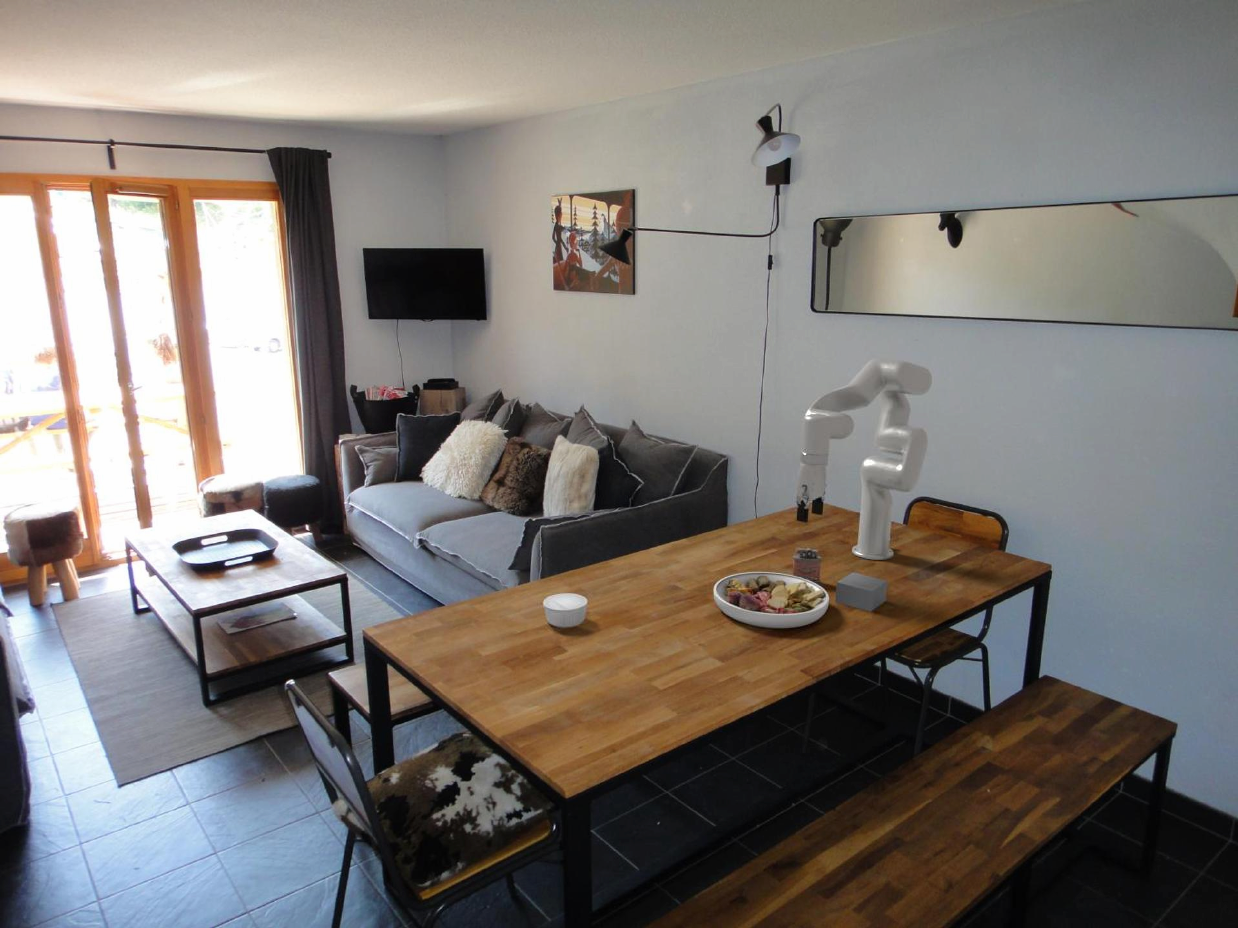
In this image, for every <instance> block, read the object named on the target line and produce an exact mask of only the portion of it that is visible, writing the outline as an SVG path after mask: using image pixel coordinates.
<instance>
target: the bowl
mask: <svg viewBox="0 0 1238 928" xmlns="http://www.w3.org/2000/svg"><path fill="white" fill-rule="evenodd" d="M792 575H793V574H786V573H779V572H772V571H750V572H748V571H747V572H741V573H736V574H731V575H727V576H725V577H723V578H721V579H720V580H718V581H717V582H716V583H715V584H714V586H713V598H714V601H715V604H716V605H717V607H718V608H719V609H720V610H721V611H722V612H723V613H724V614H725V615H727V617H730V618H731V619H734V620H736V621H738V622H741V623H744V624H747V625H751V626H754V627H760V628H766V629H790V628H798V627H804V626H806V625H810V624H812V623H815V622H816V621H817V620H819V619H820V618H822V617H823V616H824V615H825V613H826V612H827V609H828V607H829V603H830V596H829V593H828V592H827V590H825V588H824V587H822V586H821V585H819V584H816V583H814V582H811V581H809V580H806V579H803V578H800V577H797V576H792Z"/></svg>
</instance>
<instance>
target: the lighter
mask: <svg viewBox="0 0 1238 928" xmlns="http://www.w3.org/2000/svg"><path fill="white" fill-rule="evenodd" d="M795 554H796V555H792V564H793V565H792V574H791V575H792V576H797V577H800V578H803V579H806V580H809V581H811V582H814V583H816V584H817V585H819V584H820V583H821V577H820V576H821V564H822V561H823V560H822V557H821V556H818V554H819V550H818V549H812V548H811V547H807V548H806V549H805V548H796V549H795ZM798 554H799V555H798Z"/></svg>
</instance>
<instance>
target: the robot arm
mask: <svg viewBox="0 0 1238 928" xmlns="http://www.w3.org/2000/svg"><path fill="white" fill-rule="evenodd" d="M932 383H933V376H932V374H931V372H930V370H929V369H928V368H927V367H924V366H921V365H917V364H915V363H912V362H909V361H905V360H898V359H888V358H873V359H870V360H869V361H867V363H866V364H864V366H862V368H861V369H860V370H859V372H857V374H856V375H854V377H853V378H852V379H851V380H850V381H849V383H848V384H847V385H845V386H841V387H838V388H837V389H834V390H832V391H830V392H827V393H825V394H822V395H821V396H820V397H819V398H817V399H815V401H813V403H812V405H810V407H809V408H808V409H807V410H806V412H805V414H804V416H803V419H802V431H801V446H800V456H799V457H800V459H799V464H800V465H799V468H798V469H799V470H798V473H797V480H796V487H795V498H796V521H797V522H799V523H800V522H802V523H806V524H807V523H808V522H809V514H810V513H809V510H810V509H809V505H810V502H812V503H811V504H812V505H811V514H813V515H818V516H822V515H823V513H824V503H825V502H824V501H825V494H826V489H827V466H828V464H829V449H830V441H831V440H844V439H847V438H849V437H850V436H851V435H852V433H853V431H854V429H855V428H854V427H855V422H854V419H853V418H852V416H851V415H849V414H847V413H844V412H847V411H848V412H849V411H855V410H860V409H864V408H866V407H869V406H870V405H871V404H872V402H873V401H874V400H876V398H877V396H878V395H879V394H880V397H881V404H882V405H881V410H880V415H879V419H878V423H877V427H876V429H875V434H874V439H873V445H874V448H875V449H876V450H878V451H880V452H883V453H886V454H891V455H897V456H902V457H903V458H902V459H898V458H893V457H888V456H882V455H869V456H868V457H866V458H865V459H863V461H862V462H861V465H860V471H859V472H860V483H861V498H860V499H861V501H860V513H859V522H858V524H859V526H858V538H857V544H856V545H854V546H853V547H852V549H851V552H852V554H854V555H855V556H857V557H860V558H862V559H866V560H873V561H881V560H882V561H885V560H889V559H891V558H893V557H894V551H893V549H891V548H890V541H891V530H892V529H891V527H892V516H893V507H894V499H893V496H892V493H891V491H895V492H900V493H911V492H912V491H914V490H915V489H916V487H917V484H918V483H919V478H920V477H921V472H922V468H923V465H924V461H925V457H926V454H927V450H928V444H929V443H928V433H927V432H926V430H925V429H924V428H921V427H920V426H915V425H911V424H910V425H909V421H910V420H909V419H910V415H911V404H910V402H909V399H908V398H907V396H906V395H912V396H913V395H914V396H923V395H925V394H927V393H928V392H929V390H930V389H931V387H932Z"/></svg>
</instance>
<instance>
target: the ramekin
mask: <svg viewBox="0 0 1238 928" xmlns="http://www.w3.org/2000/svg"><path fill="white" fill-rule="evenodd" d="M588 604H589V602H588V599H587V598H586V597H585V596H583V595H581V594H577V593H568V592H567V593H566V592H565V593H563V592H562V593H556V594H552V595H550V596H547V597H546V598H544V600H543V602H542V606H543V609H544V613H545V618H546V620H547V622H548V624H549V625H551V626H554V627H557V628H573V627H577V626H579V625H581V624H582V623H583V622H584V620H585V619H586V613H587V607H588Z"/></svg>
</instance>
